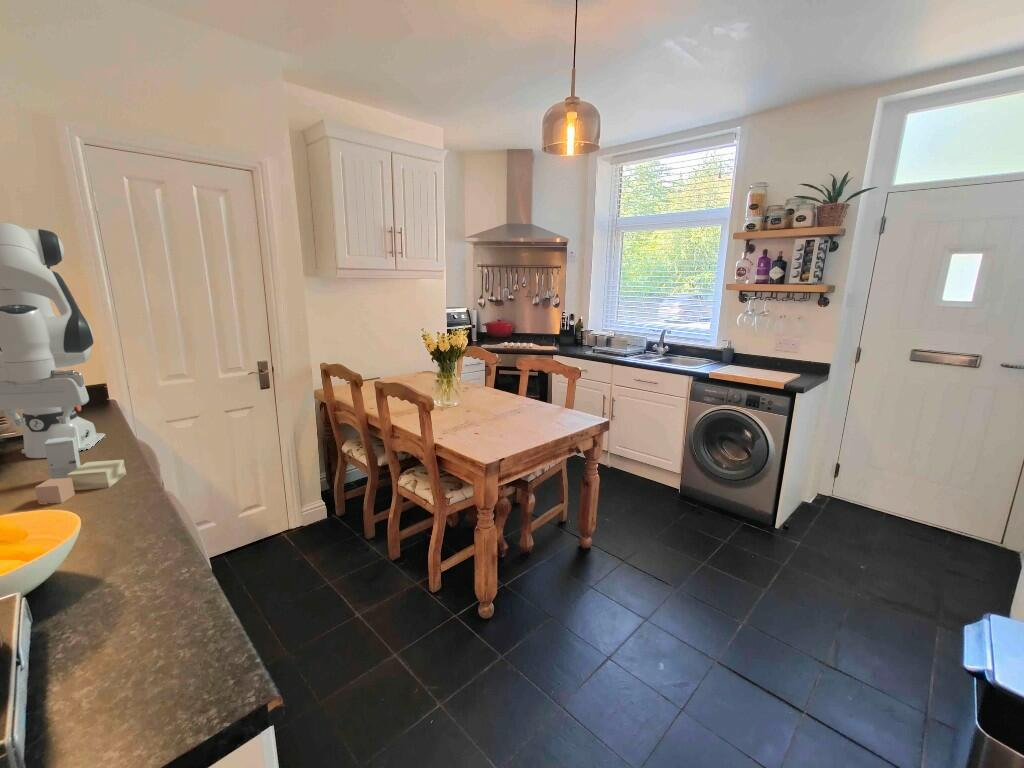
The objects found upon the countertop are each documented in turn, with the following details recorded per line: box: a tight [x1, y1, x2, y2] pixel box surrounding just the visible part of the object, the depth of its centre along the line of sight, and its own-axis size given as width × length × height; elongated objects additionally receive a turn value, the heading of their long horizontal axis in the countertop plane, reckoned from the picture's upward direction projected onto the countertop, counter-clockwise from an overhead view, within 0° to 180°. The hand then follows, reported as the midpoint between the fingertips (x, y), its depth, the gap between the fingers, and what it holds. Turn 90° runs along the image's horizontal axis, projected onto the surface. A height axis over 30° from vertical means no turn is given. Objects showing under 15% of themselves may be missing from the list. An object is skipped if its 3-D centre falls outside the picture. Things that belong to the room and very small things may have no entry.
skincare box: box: [44, 436, 82, 479], centre depth 130 cm, size 6×4×12 cm
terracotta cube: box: [34, 478, 76, 504], centre depth 119 cm, size 5×5×5 cm
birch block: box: [67, 459, 127, 491], centre depth 129 cm, size 9×9×5 cm
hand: (42, 424), depth 115 cm, fingers open, 8 cm apart
